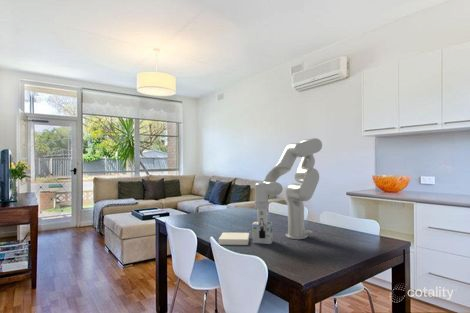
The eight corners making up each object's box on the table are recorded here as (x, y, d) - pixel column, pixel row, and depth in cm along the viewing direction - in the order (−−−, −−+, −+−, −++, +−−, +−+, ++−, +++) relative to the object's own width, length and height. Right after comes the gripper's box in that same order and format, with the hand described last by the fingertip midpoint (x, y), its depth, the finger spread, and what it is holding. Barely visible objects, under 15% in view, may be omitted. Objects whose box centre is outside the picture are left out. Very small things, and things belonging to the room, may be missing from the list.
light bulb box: (272, 240, 156) (272, 221, 156) (271, 244, 149) (270, 224, 150) (254, 239, 159) (254, 221, 159) (252, 243, 152) (251, 223, 152)
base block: (249, 237, 163) (249, 232, 163) (247, 245, 149) (247, 239, 149) (222, 237, 165) (222, 232, 165) (218, 244, 151) (218, 239, 151)
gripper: (268, 207, 145) (269, 240, 145) (268, 202, 163) (269, 232, 162) (254, 207, 146) (255, 240, 146) (255, 202, 164) (256, 232, 163)
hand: (262, 235), depth 154 cm, fingers closed on light bulb box, 7 cm apart
